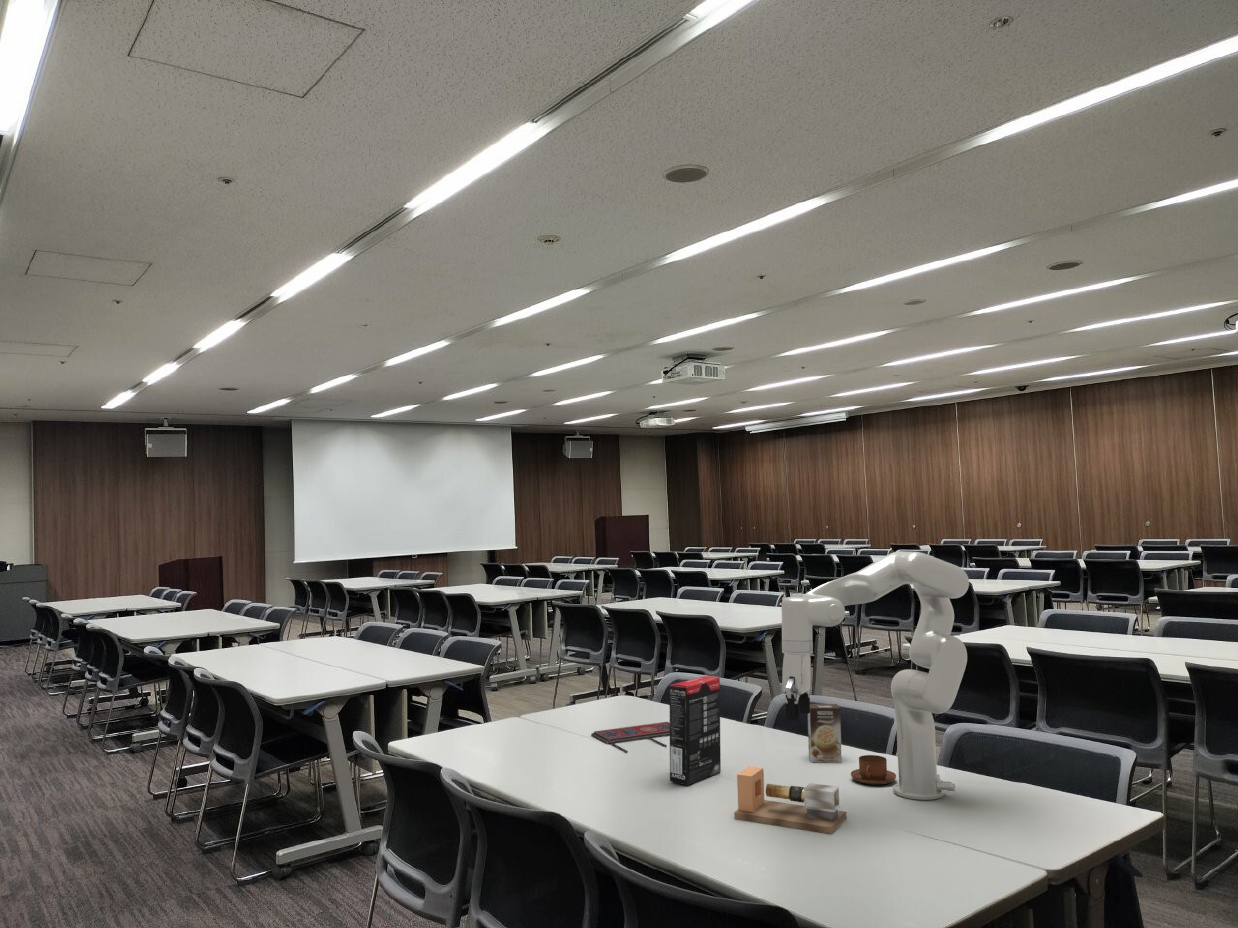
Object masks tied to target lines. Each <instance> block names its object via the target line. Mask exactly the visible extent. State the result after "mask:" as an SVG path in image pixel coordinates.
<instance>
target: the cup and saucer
mask: <svg viewBox="0 0 1238 928" xmlns="http://www.w3.org/2000/svg"><path fill="white" fill-rule="evenodd" d="M887 761H888V759H887V758H886V757H884V756H881V755H876V754H875V755H874V754H865V755H860V756H859V757H858V765H859V767H858V768H856V769H854V770H852V771H851V772H850V776H851V778H852V779H854V780H855V781H857V782H860V783H863V784H868V785H886V784H890V783H892V782H894V781H895V779H896V778H897V774H896V773H895V772H893V771H891V770H889V769H888V765H887Z"/></svg>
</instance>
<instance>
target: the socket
mask: <svg viewBox="0 0 1238 928" xmlns="http://www.w3.org/2000/svg"><path fill="white" fill-rule="evenodd" d="M764 780H765V779H764V767H757V766H751V765H750V766H747V767H746V768H744V769H743V770H742V771H740V772H739V773H737V774H736V783H737V785H736V786H737V810H742V811H748V812H754V811H755V810H756V809H757V808H759V807H760V806H761V805H762V804H764V803H765V801H764V800H765V781H764Z"/></svg>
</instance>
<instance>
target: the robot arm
mask: <svg viewBox="0 0 1238 928" xmlns="http://www.w3.org/2000/svg"><path fill="white" fill-rule="evenodd" d="M969 579H970V578H969V576H968V574H967V573H966V571H965V570H964V569H963V568H961V567H960V566H958V565H955V564H954V563H953V564H952V563H950V562H947V561H946V560H943V559H940V558H937V557H936V556H935V557H934V556H933V555H930V554H926V553H924V552H920V551H901V550H900V551H893V552H891V553H889V554H887V555H884V556H883V557H882V558H880V559H878V560H876V561H875V562H873V563H870V564H868V565H867V566H865V567H863V568H861V569H860V570H858V571H856V572H853V573H850V574H847V575H845V576H842V577H840V578H835V579H833V580H831V581H827V582H826V583H823V584H821V585H818V586H817V587H815V588H813V589H811V590H810V591H807V592H806V593H805V594H803V595H802V596H788V597H785V598H782V601H781V652H782V654H783V659H782V660H783V662H782V678H781V679H782V682H781V683H782V684H781V690H782V691H781V692H782V693H783V694H784V695H785V719H786V720H787V721H794V722H795V721H796V722H798V721H800V714H807V715H808V714H809V713H810V704H811V698H810V697H811V696H810V695H811V694H810V689H811V683H812V679H811V677H812V675H811V674H812V672H811V657H810V655H813V653H814V651H813V649H814V648H813V626H820V627H831V628H832V627H835V626H837V625H839V624H841V623H842V621H843V620H844V618H845V616H846V609H845V607H846V606H851V605H852V606H854V605H862V604H867V603H871V602H874V601H877V600H879V599H880V598H882V597H883V596H885V595H887V594H889V593H890V592H892V591H894V590H896V589H898V588H899V587H901V586H904V585H912V587H913V588H914V591H915V592H916V594H917V596H918V599H919V601H920V609H921V610H920V616H919V619H918V622H917V626H916V627H915V631H914V634H913V636H912V640H911V642H910V645H909V649H908V651H909V652H908V655H909V656H908V657H909V658H910V660H911V662H912V663H913V664H915V665H916V666H919V667H921V668H925V669H928V670H929V671H928V672H926V671H921V670H916V669H912V668H911V669H910V668H909V669H903V670H900V671H898V672H897V673H896V674H895V675H894V676H893V678H892V680H891V684H890V691H891V692H890V693H891V697H892V701H893V706H894V711H895V721H896V722H895V724H896V741H897V743H896V747H897V763H898V764H897V766H898V767H897V769H898V783H895V784H894V785H893V788H892V789H893V793H894V794H896V795H897V796H899V797H902V798H906V799H911V800H918V801H919V800H920V801H930V800H933V801H934V800H937V799H941V798H943V797H944V796H945V791H947V792H956V783H953V782H952V781H950V780H949V781H948V780H943V779H941V775H940V774H938V767H937V749H936V727H935V721H934V716H933V714H937V715H938V714H944V713H946V712H947V711H948V710H950V708H952V705H953V704H954V702H955V701H956V697H957V695H958V691H959V689H960V685H961V682H962V680H963V677H964V673H965V671H966V666H967V663H968V652H967V648H966V646H965V643H964V642H963V641H962V640H961V639H960V638H958V637H956V636H954V635H951V634H952V630H953V626H954V622H955V621H954V620H955V612H954V607H953V605H952V602H951V599H959V598H961V597H963V596H965V594H966V593H967V591H968V589H969V586H970V580H969Z"/></svg>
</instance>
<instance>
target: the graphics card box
mask: <svg viewBox="0 0 1238 928" xmlns="http://www.w3.org/2000/svg"><path fill="white" fill-rule="evenodd" d="M720 681H721V679H720V677H718V676H712V675H707V676H705V675H704V676H701V677H696V678H693V679H689V680H688V679H687V680H684V681H680V682H677V683H676V682H675V683H671V684H669V689H668V690H669V691H668V692H669V693H668V694H669V698H668V700H669V723H670V735H669V782H672V783H676V784H680V785H685V786H688V785H692V784H694V783H697V782H699V781H702V780H705V779H707V778H710V777H712V776H716V775H718V774H720V773H721V772H722V771H721V767H722V766H721V763H722V762H721V682H720Z"/></svg>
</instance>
